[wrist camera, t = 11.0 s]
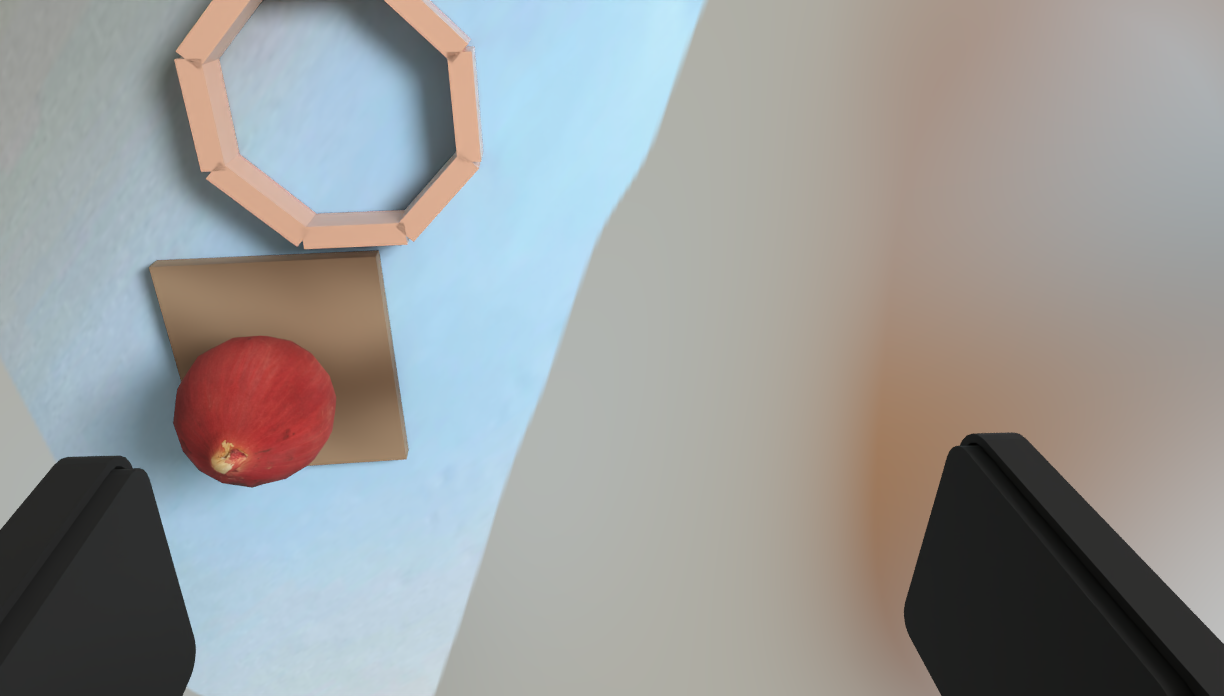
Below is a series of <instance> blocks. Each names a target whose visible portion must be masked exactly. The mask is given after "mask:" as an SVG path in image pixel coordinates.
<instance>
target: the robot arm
mask: <svg viewBox="0 0 1224 696" xmlns="http://www.w3.org/2000/svg"><path fill="white" fill-rule="evenodd" d="M904 619H905V625H906V628H907V631H908V634H909V636H910V638H911V640H912V642H913V644H914V646H915V647H916V649H917V651H918V653H919V655H920V657H921V659H922V660H923V662H924V664H925V666H926V668H927V670H928V672H929V673H930V675H931V677H932V679H933V681H934V683H935V684H936V686H937V688H938V690H939V692H940V694H941V696H1224V644H1223V643H1222V642H1221V641H1220V640H1219V639H1218V638H1217V637H1216V636H1215V635H1214V634H1213V633H1212V632H1211V630H1210V629H1209V628H1208V627H1207V626H1206V625H1205V624H1204V623H1203V622H1202V621H1201V620H1200V619H1199V618H1198V617H1197V616H1196V615H1195V614H1194V613H1193V612H1192V611H1191V610H1190V609H1189V608H1188V607H1187V606H1186V604H1185V603H1184V602H1183V601H1182V600H1181V599H1180V598H1179V597H1178V596H1177V595H1176V594H1175V593H1174V592H1173V591H1172V590H1171V589H1170V588H1169V587H1168V586H1167V585H1166V584H1165V583H1164V582H1163V581H1162V580H1161V579H1160V577H1159V576H1158V575H1157V574H1156V573H1155V572H1154V571H1153V570H1152V569H1151V568H1150V567H1149V566H1148V565H1147V564H1146V563H1145V562H1144V561H1143V560H1142V559H1141V558H1140V557H1139V556H1138V555H1137V554H1136V553H1135V551H1134V550H1133V549H1132V548H1131V547H1130V546H1129V545H1128V544H1127V543H1126V542H1125V541H1124V540H1123V539H1122V538H1121V537H1120V536H1119V535H1118V534H1117V533H1116V532H1115V531H1114V530H1113V529H1112V528H1111V527H1110V526H1109V524H1107V522H1106V521H1105V520H1104V519H1103V518H1102V517H1101V516H1100V515H1099V514H1098V513H1097V512H1096V511H1095V510H1094V509H1093V508H1092V507H1091V506H1090V505H1089V504H1088V503H1087V502H1086V501H1085V500H1084V499H1083V498H1082V496H1081V495H1079V494H1078V492H1077V491H1076V490H1075V489H1074V488H1073V487H1072V486H1071V485H1070V484H1069V483H1068V482H1067V481H1066V480H1065V479H1064V478H1063V477H1062V476H1061V475H1060V474H1059V473H1058V471H1057V470H1056V469H1055V468H1054V467H1053V466H1051V464H1050V463H1049V462H1048V461H1047V460H1046V459H1045V458H1044V457H1043V456H1042V455H1041V454H1040V453H1039V452H1038V451H1037V450H1036V449H1035V448H1034V447H1033V446H1032V444H1031V443H1029V441H1028V440H1027V439H1025V438H1024V437H1023V436H1022V435H1020V434H1017V433H981V434H980V433H978V434H970V435H967V436H966V437H965V438H964V439H963V440H962V442H961V444H960V446H955V447H953V448H952V449H951V450H950V451H949V454H948V456H947V460H946V463H945V466H944V470H943V473H942V477H941V480H940V484H939V487H938V490H937V494H936V498H935V501H934V505H933V508H932V511H931V515H930V518H929V522H928V525H927V529H926V532H925V536H924V539H923V543H922V546H921V550H920V553H919V556H918V560H917V564H916V567H915V570H914V574H913V577H912V581H911V585H910V588H909V592H908V595H907V598H906V602H905V607H904ZM195 654H196V645H195V639H194V635H193V632H192V628H191V625H190V621H189V618H188V614H187V610H186V607H185V603H184V600H183V596H182V593H181V589H180V586H179V582H178V579H177V575H176V572H175V568H174V564H173V561H172V557H171V554H170V550H169V547H168V543H167V540H166V536H165V533H164V529H163V525H162V522H161V518H160V515H159V511H158V508H157V504H156V501H155V497H154V494H153V490H152V487H151V483H150V480H149V477H148V475H147V473H146V472H145V471H144V470H143V469H140V468H134V469H133V468H132V466H131V463H130V462H129V461H128V460H127V459H126V458H125V457H122V456H88V457H66V458H63V459H61V460H59V461H58V462H57V463H56V464H55V465H54V466H53V467H52V468H51V470H50V471H49V472H48V473H47V474H46V476H45V477H44V478H43V479H42V480H41V482H40V483H39V484H38V485H37V486H36V488H35V489H34V490H33V491H32V492H31V494H30V495H29V496H28V497H27V498H26V500H25V501H24V502H23V503H22V504H21V506H20V507H19V508H18V509H17V510H16V512H15V513H14V514H13V515H12V517H11V518H10V519H9V520H8V522H7V523H6V524H5V525H4V526H3V527H2V529H1V530H0V696H183V693H184V691H185V689H186V686H187V684H188V682H189V679H190V677H191V674H192V671H193V668H194V663H195Z"/></svg>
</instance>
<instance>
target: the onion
mask: <svg viewBox="0 0 1224 696" xmlns="http://www.w3.org/2000/svg"><path fill="white" fill-rule="evenodd" d="M335 408H336V395H335V391H334V388H333V385H332V382H331V379H330V376H329V374H328V373H327V372H326V371H325V369H324V368H323V367H322V366H321V364H320V363H319V362H318V361H317V359H316V358H315V357H314V356H313V354H312V353H310V352H309V351H307V350H306V349H304V348H302V347H301V346H299V345H297V344H296V343H294V342H293V341H290V340H285V339H280V338H275V337H270V336H249V337H236V338H232V339H230V340H228V341H226V342H224V343H222V344H220V345H218V346H216V347H214V348H212V349H210V350H208V351H206V352H205V353H203V354H201V355H200V356H198V357H197V359H196V360H195V362H194V363H193V365H192V366H191V368H190V369H189V371H188V372H187V374H186V375H185V377H184V378H183V380H182V382H181V383H180V385H179V387H178V389H177V395H176V403H175V412H174V421H173V424H174V427H175V430H176V432H177V435H178V438H179V441H180V444H181V447H182V450H183V452H184V453H185V454H186V455H187V457H188V458H189V459H190V460H191V461H192V463H193V464H194V465H195V466H196V467H197V468H198V470H200V471H201V472H203V473H205V474H206V475H208V476H210V477H212V478H214V479H216V480H218V481H219V482H221V483H225V484H232V485H240V486H246V487H256V486H259V485H262V484H266V483H270V482H274V481H278V480H283V479H286V478H288V477H289V476H291V475H293V474H294V473H296V472H298V471H299V470H301V469H302V468H304V467H306V466H307V465H309V464H310V463H311V462H312V461H313V460H314V459H315V458H316V456H317V455H318V453H319V452H320V450H321V449H322V448H323V446H324V445H325V443H326V442H327V440H328V438H329V436H330V434H331V432H332V430H333V423H334V415H335Z"/></svg>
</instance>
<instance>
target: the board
mask: <svg viewBox="0 0 1224 696" xmlns="http://www.w3.org/2000/svg"><path fill="white" fill-rule="evenodd" d="M149 269H150V273H151V277H152V280H153V284H154V287H155V291H156V294H157V298H158V301H159V305H160V308H161V312H162V315H163V319H164V322H165V326H166V329H167V333H168V337H169V340H170V344H171V347H172V351H173V354H174V358H175V361H176V365H177V368H178V372H179V375H180V379H181V382H182V380H183V378H184V377H185V375H186V374H187V372H188V371H189V369H190V368H191V366H192V365H193V363H194V362H195V360H196V359H197V357H198V356H200V355H201V354H203V353H205V352H206V351H208V350H210V349H212V348H214V347H216V346H218V345H220V344H222V343H224V342H226V341H228V340H230V339H232V338H236V337H249V336H270V337H275V338H280V339H285V340H290V341H293V342H294V343H296V344H297V345H299V346H301V347H302V348H304V349H306V350H307V351H309V352H310V353H312V354H313V356H314V357H315V358H316V359H317V361H318V362H319V363H320V364H321V366H322V367H323V368H324V369H325V371H326V372H327V373H328V374H329V376H330V379H331V382H332V385H333V388H334V391H335V395H336V408H335V415H334V423H333V430H332V432H331V434H330V436H329V438H328V440H327V442H326V443H325V445H324V446H323V448H322V449H321V450H320V452H319V453H318V455H317V456H316V458H315V459H314V460H313V461H312V462H311V463H310V464H309V465H307V466H311V465H326V464H341V463H357V462H372V461H387V460H402V459H407V454H408V443H407V436H406V429H405V423H404V416H403V409H402V402H401V396H400V389H399V382H398V376H397V369H396V362H395V355H394V349H393V342H392V335H391V328H390V322H389V315H388V308H387V302H386V295H385V288H384V281H383V275H382V268H381V261H380V254H379V250H376V251H354V252H332V253H310V254H287V255H265V256H243V257H221V258H199V259H176V260H157V261H156V262H154V263H153V264H152V265H151V266H150V267H149Z"/></svg>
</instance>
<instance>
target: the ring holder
mask: <svg viewBox="0 0 1224 696" xmlns="http://www.w3.org/2000/svg"><path fill="white" fill-rule="evenodd" d="M262 1H263V0H212V2H211V3H210V4H209V6H208V7H207V9H206V10H205V11H204V13H203V14H202V15H201V17H200V18H199V20H198V21H197V22H196V24H195V25H194V26H193V28H192V29H191V31H190V32H189V33H188V35H187V36H186V37H185V39H184V40H183V42H182V43H181V44H180V46H179V47H178V49H177V50H176V52H177V53H178V54H179V55H181V56H182V57H180V58H177V59H174V61H175V65H176V69H177V73H178V77H179V82H180V86H181V90H182V94H183V98H184V102H185V107H186V111H187V115H188V119H189V123H190V127H191V132H192V136H193V140H194V144H195V148H196V152H197V157H198V161H199V165H200V169H201V172H211V173H210V174H209V175H208V177H207V178H206V179H207V180H208V181H210V182H211V183H212V184H214V185H215V186H216V187H218V188H219V189H220V190H222V191H223V192H224V193H226V194H227V195H228V196H230V197H231V198H232V199H234V200H235V201H236V202H238V203H239V204H240V205H242V206H243V207H244V208H246V209H247V210H248V211H250V212H251V213H252V214H254V215H255V216H256V217H258V218H259V219H260V220H262V221H263V222H264V223H266V224H267V225H268V226H270V227H271V228H272V229H274V230H275V231H276V232H278V233H279V234H280V235H282V236H283V237H284V238H286V239H287V240H288V241H290V242H291V243H293V244H294V245H295V246H298V245H299V244H300V243H301V242H302V240H303V245H304V249H320V248H342V247H364V246H387V245H407V244H408V241H409V239H411V240H412V241H413V242H414V241H415V240H416V238H417V237H418V236H419V235H420V234H421V233H422V232H423V231H424V229H425V228H426V227H427V226H428V225H429V224H430V223H431V222H432V220H433V219H434V218H435V217H436V216H437V215H438V214H439V213H440V212H441V210H442V209H443V208H444V207H445V206H446V205H447V204H448V203H449V201H450V200H451V199H452V198H453V197H454V196H455V195H456V194H457V192H458V191H459V190H460V189H461V188H462V187H463V186H464V185H465V184H466V182H467V181H468V180H469V179H470V178H471V177H472V176H473V175H474V173H475V172H476V171H477V170H478V169H479V166H480V162H481V160H482V155H483V142H482V130H481V118H480V106H479V95H478V83H477V71H476V59H475V47H474V46H467V45H468V43H469V42H470V40H471V39H470V38H469V37H468V36H467V35H466V34H465V33H464V32H463V31H462V30H461V29H460V28H459V27H458V26H457V25H456V24H455V23H453V22H452V21H451V20H450V19H449V18H448V17H447V16H446V15H445V14H444V13H443V12H442V11H441V10H440V9H439V8H438V7H437V6H436V5H434V4H433V3H432V2H431V1H430V0H384V1H385V2H386V3H387V4H389V5H390V6H391V7H392V8H393V9H394V10H395V11H396V12H397V13H398V14H399V15H401V16H402V17H403V18H404V19H405V20H406V21H407V22H408V23H409V24H410V25H411V26H412V27H414V28H415V29H416V30H417V31H418V32H419V33H420V34H421V35H422V36H423V37H424V38H425V39H427V40H428V41H429V42H430V43H431V44H432V45H433V46H434V47H435V48H436V49H437V50H439V51H440V52H441V53H442V54H443V55H444V56H445V57H446V58H447V60H448V71H449V81H450V91H451V101H452V111H453V121H454V131H455V142H456V152H455V153H454V154H453V155H452V157H451V158H450V159H449V160H448V161H447V162H446V163H445V164H444V166H443V167H442V168H441V169H440V170H439V171H438V172H437V174H436V175H435V176H434V177H433V178H432V179H431V180H430V182H429V183H428V184H427V185H426V186H425V187H424V188H423V190H422V191H421V192H420V193H419V194H418V195H417V196H416V198H415V199H414V200H413V201H412V202H411V203H410V204H409V206H408V207H407V208H406V209H405V210H391V211H367V212H342V213H318V214H316V213H315V212H314V211H312V210H311V209H310V208H309V207H307V206H306V205H305V204H303V203H302V202H301V201H300V200H298V199H297V198H296V197H294V196H293V195H292V194H290V193H289V192H288V191H287V190H285V189H284V188H283V187H281V186H280V185H279V184H278V183H276V182H275V181H274V180H272V179H271V178H270V177H268V176H267V175H266V174H265V173H263V172H262V171H261V170H259V169H258V168H257V167H256V166H254V165H253V164H252V163H250V162H249V161H248V160H246V159H245V158H244V157H243V156H241V155H240V153H239V149H238V144H237V140H236V135H235V130H234V126H233V121H232V116H231V112H230V107H229V103H228V98H227V93H226V89H225V84H224V79H223V75H222V70H221V66H220V61H219V58H220V57H221V56H222V54H223V53H224V52H225V50H226V49H227V48H228V46H229V45H230V44H231V42H232V41H233V40H234V38H235V37H236V36H237V34H238V33H239V32H240V30H241V29H242V27H243V26H244V25H245V23H246V22H247V21H248V19H249V18H250V17H251V15H252V14H253V13H254V11H255V10H256V9H257V7H258V6H259V5H260V3H261V2H262Z"/></svg>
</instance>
